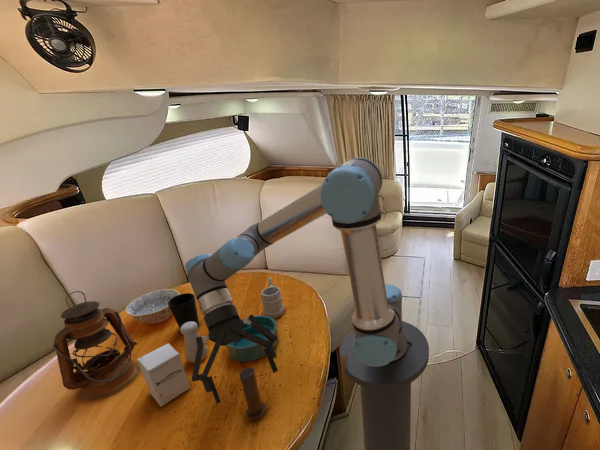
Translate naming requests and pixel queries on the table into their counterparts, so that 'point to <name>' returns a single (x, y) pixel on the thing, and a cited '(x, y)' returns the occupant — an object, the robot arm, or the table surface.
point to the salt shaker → (191, 341)
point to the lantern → (102, 367)
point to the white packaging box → (164, 373)
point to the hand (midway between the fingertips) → (249, 386)
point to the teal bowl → (248, 349)
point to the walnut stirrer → (252, 395)
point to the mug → (272, 301)
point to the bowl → (152, 306)
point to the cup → (184, 308)
